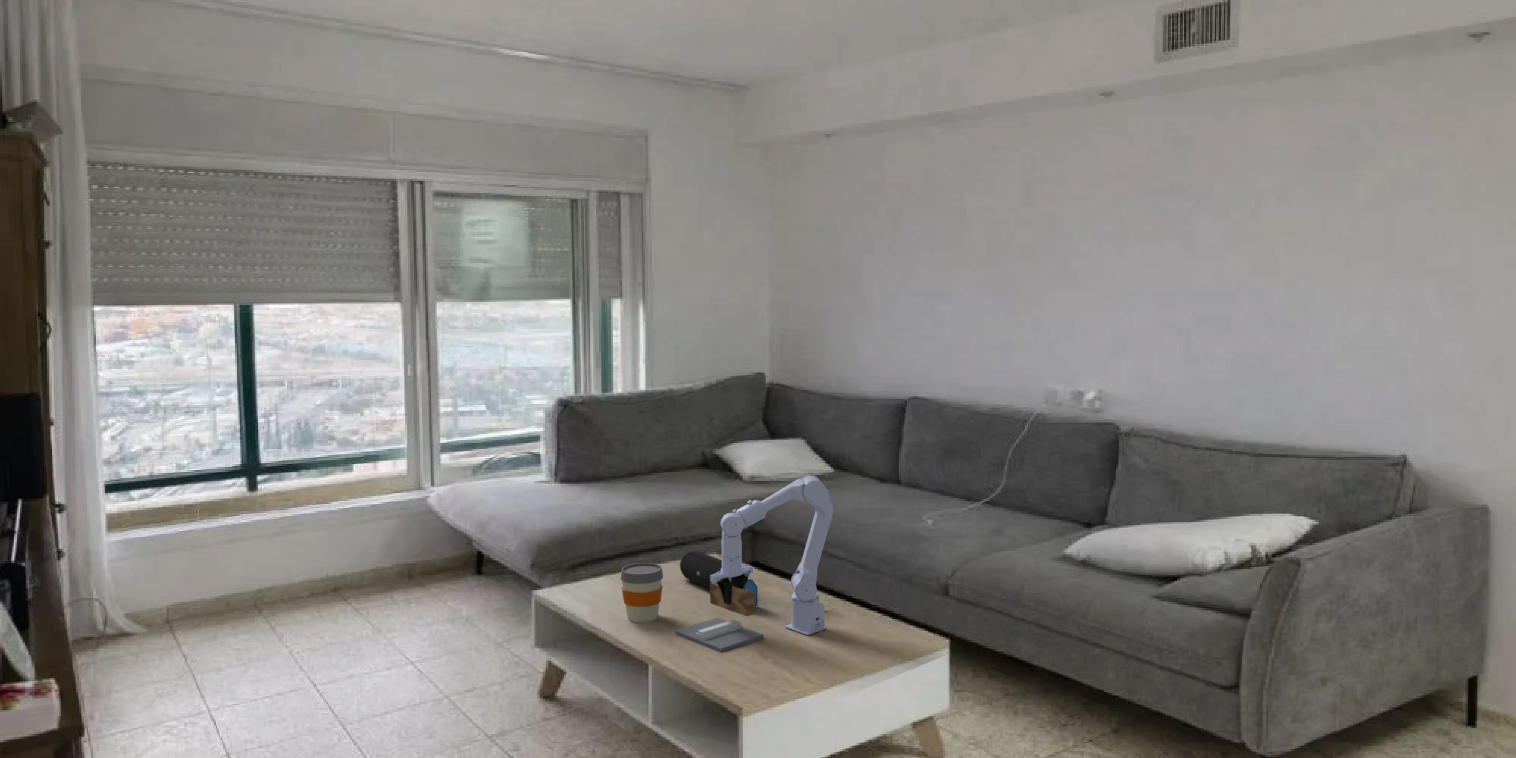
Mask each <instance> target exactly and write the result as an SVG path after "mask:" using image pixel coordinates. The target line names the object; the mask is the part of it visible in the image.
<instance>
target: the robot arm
mask: <svg viewBox="0 0 1516 758" xmlns="http://www.w3.org/2000/svg"><path fill="white" fill-rule="evenodd" d="M803 497H804V498H805V499H806V501H808V502H809V503H810V504H811V506H813V509H814V510H815V512H814V515H813V519H812V522H811V526H810V529H809V532H808V533H809V534H808V536H807V540H806V544H805V548H804V552H803V554H802V557H801V560H800V562H799V563H798V566H797V569H796V571H795V573H794V574H793V575H792V576H791V579H790V585H791V587H792V589H793V593H792V594H791V595H790V597H791V601H790V602H791V603H790V604H791V605H790V606H791V608H790V613H791V617H790V618H791V623H789V624H786V625H784V628H787V629H789V630H792V631H794V632H798V633H800V634H804V635H807V636H808V635H809V636H810V635H813V634H815V633H818V632H821V631H824V630H826V629H827V626H825V625H826V624H825V618H826V617H825V605H824V604H823V603H822V602H820V600H819V601H818V600H817V598H816V594H817V591H818V589H817V580H818V567H819V564H820V561H821V556H822V553H823V550H824V547H825V543H826V539H827V536H828V532H829V528H830V525H831V523H832V518H833V515H834V506H833V503H832V500H831V497H830V492H829V490H828V489H827V487H826V486H825V485H824V484H823V483H822V481H821V480H820V479H819V477H817V476H816V475H814V474H807V475H804V476H802V477H801V478H797V479H795V480H794V481H792V482H791V483H789V484H788V485H786V486H784V487H782V488H781V489H780V490H778V491H776V492H774V493H773V494H771V495H769V496H768V497H766V498H765V499H763V500H758V499H754V500H752V499H749V500H748V501H747V502H746V503H747V504H744V505H743V506H741V507H740V508H737V509H736V508H734V509H733V510H732V512H727V513H726V514H724V515H723V516H722V518H721V520H720V521H719V522H720V524H719V525H720V527H721V529H722V532H721V560H722V568H721V571H719V572H717V573H715V574H713V575H710V582H713V583H717V584H718V586H719V588H720V590H721V593H722V596H723V600H724V603H725V604H728V605H729V604H731V591H732V587H733V586H734V587H737V588H740V589H743V588H744V586H745V584H746V582H747V581H748V579H749V577H747V576H745V574H748V573H749V575H750V574H754V566H752V565H749V564H748V565H743V555H742V554H743V553H742V550H743V549H742V538H741V537H742V532H743V530H744V529H747V528H749V527H750V526H752V525H754V524H755V523H758V522H759V521H761V520H763V519H765V518H766V516H767V512H770V511H771V510H772V509H774V508H777V507H778V506H780V505H782V504H785V503H786V502H788V501H791V500H797V501H804V498H803ZM729 578H731V581H730V580H729Z"/></svg>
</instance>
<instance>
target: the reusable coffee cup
mask: <svg viewBox="0 0 1516 758" xmlns="http://www.w3.org/2000/svg"><path fill="white" fill-rule="evenodd" d="M663 573H664V572H663V567H662V566H661V565H660V564H657V563H650V562H649V563H648V562H638V563H637V562H636V563H630V564H627V565H625V566H622V568H621V572H620V580H621V583H622V586H621V593H622V600H623V603H624V604H625V609H626V615H627V620H629V621H630V622H633V623H640V624H641V623H649V622H650V623H651V622H653V621H655V620H657V619H658V618H659V617H658V616H659V608H660V607H659V606H660V603H661V601H662V593H663V585H662V579H663V578H664V574H663Z"/></svg>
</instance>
